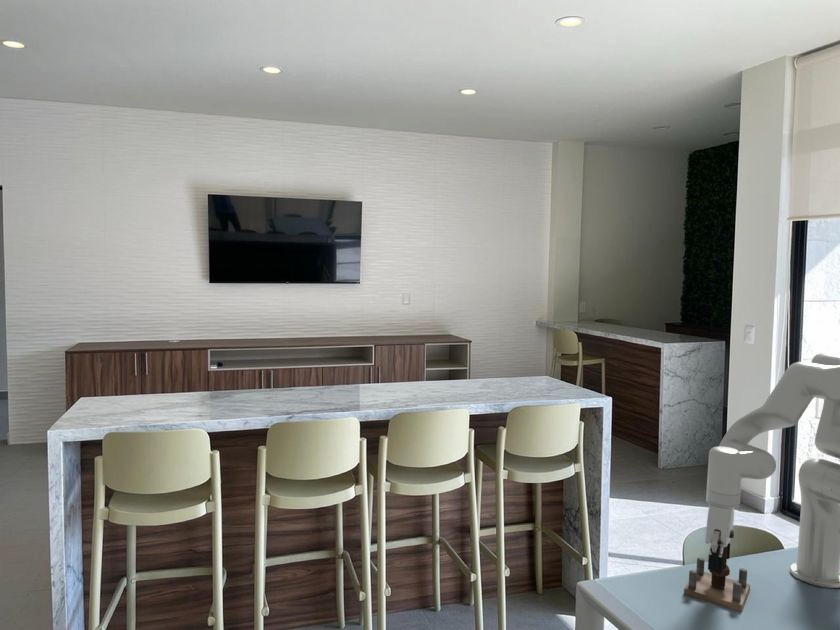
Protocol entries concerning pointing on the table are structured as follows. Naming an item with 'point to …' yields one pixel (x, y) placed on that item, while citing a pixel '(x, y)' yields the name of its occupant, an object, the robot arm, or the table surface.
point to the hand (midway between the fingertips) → (718, 564)
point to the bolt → (719, 578)
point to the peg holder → (727, 596)
